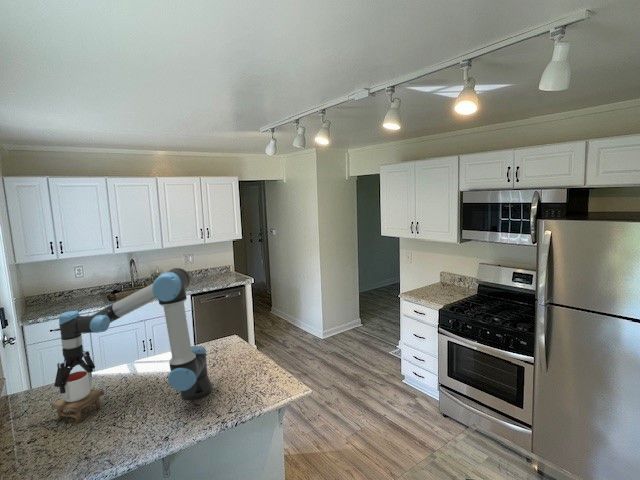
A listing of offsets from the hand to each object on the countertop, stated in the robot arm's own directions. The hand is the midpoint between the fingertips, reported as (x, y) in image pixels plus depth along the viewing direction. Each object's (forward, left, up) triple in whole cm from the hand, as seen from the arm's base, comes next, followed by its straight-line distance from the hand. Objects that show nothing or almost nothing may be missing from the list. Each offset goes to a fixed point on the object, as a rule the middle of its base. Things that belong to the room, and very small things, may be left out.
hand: (77, 392), depth 160 cm
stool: (0, 0, -11) cm, 11 cm away
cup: (0, 0, -3) cm, 3 cm away
